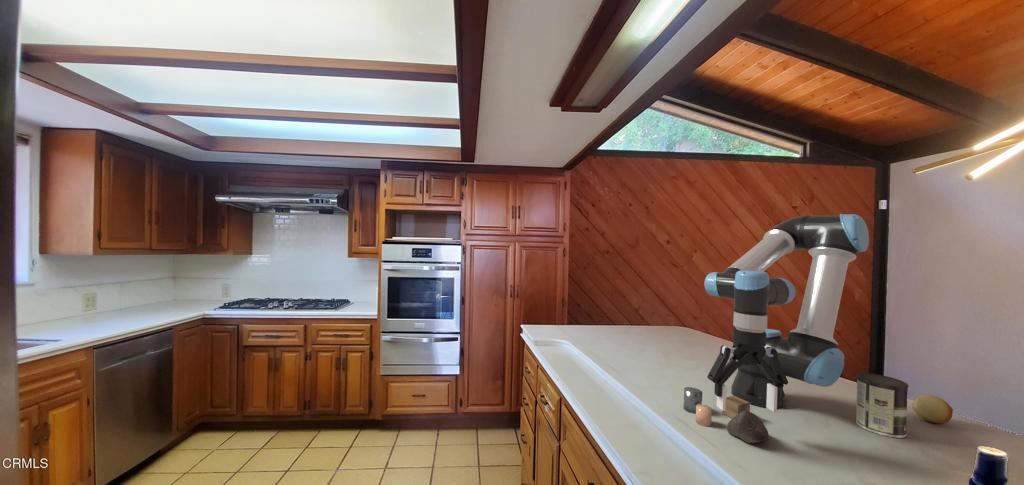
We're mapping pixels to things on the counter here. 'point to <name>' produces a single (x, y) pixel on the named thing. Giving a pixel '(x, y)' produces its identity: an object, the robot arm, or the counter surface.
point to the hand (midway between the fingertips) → (746, 409)
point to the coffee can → (882, 405)
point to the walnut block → (735, 406)
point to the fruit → (932, 409)
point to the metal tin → (692, 399)
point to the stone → (748, 427)
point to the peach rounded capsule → (703, 415)
